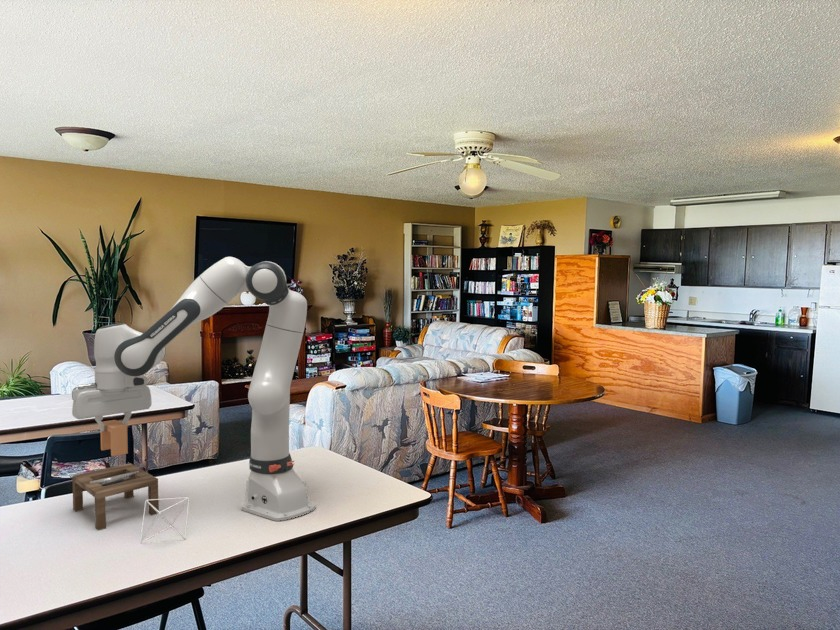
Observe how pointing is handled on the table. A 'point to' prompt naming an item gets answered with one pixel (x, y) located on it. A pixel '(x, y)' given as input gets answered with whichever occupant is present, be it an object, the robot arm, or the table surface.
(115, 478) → the grey textured rod
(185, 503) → the geometric polyhedron
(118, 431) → the tan cardboard brick
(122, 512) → the table surface
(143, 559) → the table surface
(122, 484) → the small wooden table
